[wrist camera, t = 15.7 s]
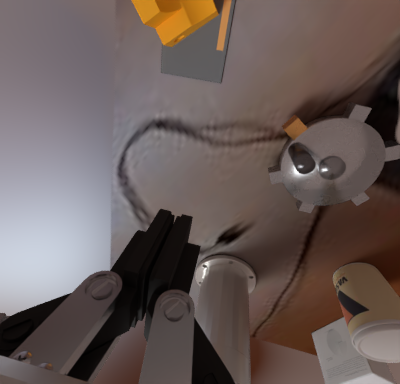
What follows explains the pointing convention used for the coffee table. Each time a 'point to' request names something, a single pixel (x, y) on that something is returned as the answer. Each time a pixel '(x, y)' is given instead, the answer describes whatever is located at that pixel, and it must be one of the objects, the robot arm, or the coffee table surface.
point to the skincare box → (346, 358)
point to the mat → (202, 48)
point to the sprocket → (332, 158)
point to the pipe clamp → (175, 17)
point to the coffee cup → (369, 311)
